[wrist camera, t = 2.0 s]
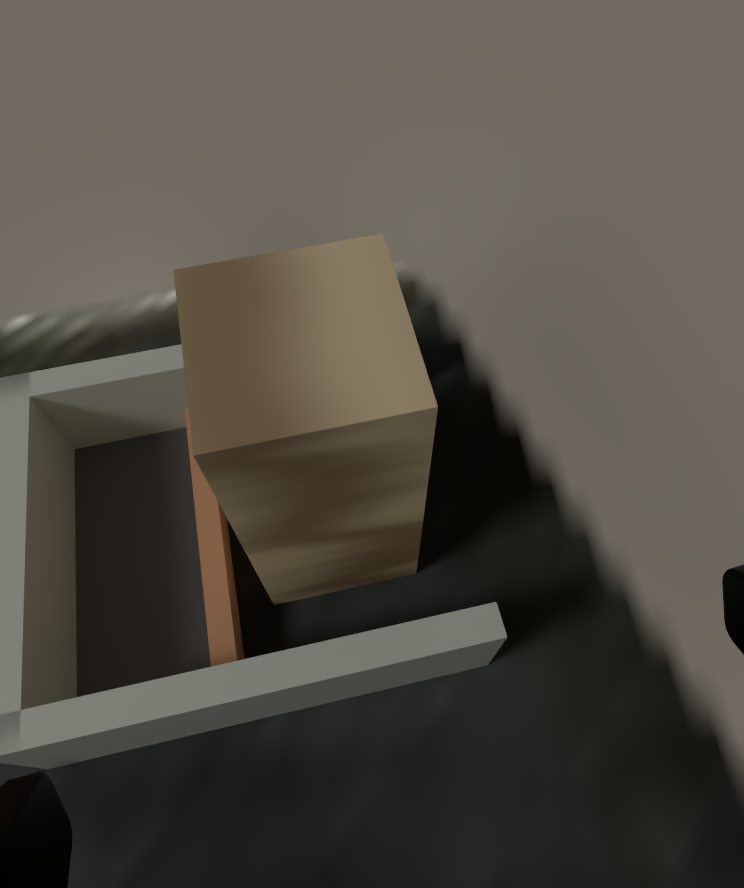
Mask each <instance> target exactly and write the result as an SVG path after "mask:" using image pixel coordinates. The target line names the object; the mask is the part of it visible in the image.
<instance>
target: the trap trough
mask: <svg viewBox="0 0 744 888" xmlns="http://www.w3.org/2000/svg"><path fill="white" fill-rule="evenodd" d="M506 639H507V634H506V631H505V628H504V625H503V622H502V618H501V615H500V612H499V609H498V606H497V602H493V603H489V604H485V605H480V606H476V607H471V608H467V609H463V610H458V611H454V612H450V613H445V614H441V615H436V616H432V617H428V618H423V619H419V620H414V621H410V622H406V623H401V624H397V625H392V626H388V627H384V628H379V629H375V630H370V631H366V632H362V633H357V634H353V635H348V636H344V637H340V638H335V639H331V640H326V641H322V642H318V643H313V644H309V645H305V646H300V647H296V648H291V649H287V650H283V651H278V652H274V653H269V654H265V655H261V656H256V657H252V658H247V659H245V658H244V650H243V642H242V634H241V626H240V618H239V610H238V603H237V595H236V587H235V579H234V571H233V563H232V555H231V547H230V539H229V531H228V523H227V517H226V515H225V514H224V512H223V510H222V508H221V506H220V504H219V502H218V501H217V499H216V497H215V495H214V493H213V491H212V489H211V488H210V486H209V484H208V482H207V480H206V478H205V476H204V475H203V473H202V471H201V469H200V467H199V465H198V464H197V462H196V460H195V458H194V456H193V449H192V439H191V430H190V420H189V411H188V401H187V392H186V382H185V373H184V363H183V354H182V344H181V345H176V346H171V347H165V348H160V349H154V350H149V351H143V352H138V353H133V354H127V355H122V356H116V357H111V358H105V359H100V360H95V361H89V362H84V363H78V364H73V365H67V366H62V367H56V368H51V369H46V370H40V371H35V372H29V373H24V374H18V375H13V376H8V377H2V378H0V763H5V764H13V765H21V766H29V767H37V768H45V769H50V768H54V767H59V766H63V765H67V764H71V763H76V762H80V761H84V760H88V759H93V758H97V757H101V756H105V755H110V754H114V753H118V752H122V751H126V750H131V749H135V748H139V747H143V746H148V745H152V744H156V743H160V742H165V741H169V740H173V739H177V738H182V737H186V736H190V735H194V734H199V733H203V732H207V731H211V730H215V729H220V728H224V727H228V726H232V725H237V724H241V723H245V722H249V721H254V720H258V719H262V718H266V717H271V716H275V715H279V714H283V713H287V712H292V711H296V710H300V709H304V708H309V707H313V706H317V705H321V704H326V703H330V702H334V701H338V700H343V699H347V698H351V697H355V696H359V695H364V694H368V693H372V692H376V691H381V690H385V689H389V688H393V687H398V686H402V685H406V684H410V683H415V682H419V681H423V680H427V679H431V678H436V677H440V676H444V675H448V674H453V673H457V672H461V671H465V670H470V669H474V668H478V667H482V666H487V665H488V664H489V663H490V661H491V660H492V658H493V657H494V656H495V654H496V653H497V651H498V650H499V649H500V647H501V646H502V644H503V643H504V641H505V640H506Z"/></svg>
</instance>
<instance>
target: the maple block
mask: <svg viewBox="0 0 744 888" xmlns="http://www.w3.org/2000/svg"><path fill="white" fill-rule="evenodd" d="M174 278H175V287H176V297H177V306H178V316H179V325H180V335H181V344H182V354H183V363H184V373H185V382H186V392H187V401H188V411H189V420H190V430H191V439H192V449H193V456H194V458H195V460H196V462H197V464H198V465H199V467H200V469H201V471H202V473H203V475H204V476H205V478H206V480H207V482H208V484H209V486H210V488H211V489H212V491H213V493H214V495H215V497H216V499H217V501H218V502H219V504H220V506H221V508H222V510H223V512H224V514H225V515H226V517H227V519H228V521H229V523H230V525H231V526H232V528H233V530H234V532H235V534H236V536H237V538H238V539H239V541H240V543H241V545H242V547H243V549H244V551H245V552H246V554H247V556H248V558H249V560H250V562H251V563H252V565H253V567H254V569H255V571H256V573H257V575H258V576H259V578H260V580H261V582H262V584H263V586H264V588H265V589H266V591H267V593H268V595H269V597H270V599H271V601H272V602H273V604H274V605H276V604H281V603H285V602H290V601H294V600H299V599H303V598H308V597H312V596H317V595H322V594H326V593H331V592H335V591H340V590H344V589H349V588H353V587H358V586H362V585H367V584H371V583H376V582H380V581H385V580H389V579H394V578H398V577H403V576H407V575H412V574H416V571H417V564H418V556H419V548H420V541H421V533H422V525H423V518H424V510H425V502H426V495H427V487H428V479H429V472H430V464H431V457H432V449H433V441H434V434H435V426H436V418H437V411H438V405H437V402H436V399H435V396H434V393H433V390H432V386H431V383H430V380H429V377H428V374H427V371H426V367H425V364H424V361H423V358H422V355H421V352H420V348H419V345H418V342H417V339H416V336H415V333H414V329H413V326H412V323H411V320H410V317H409V314H408V310H407V307H406V304H405V301H404V298H403V295H402V291H401V288H400V285H399V282H398V279H397V276H396V272H395V269H394V266H393V263H392V260H391V257H390V254H389V250H388V247H387V244H386V241H385V238H384V235H383V234H377V235H372V236H366V237H360V238H354V239H349V240H343V241H337V242H331V243H325V244H320V245H314V246H309V247H303V248H297V249H291V250H285V251H280V252H274V253H269V254H262V255H257V256H251V257H245V258H240V259H234V260H228V261H223V262H217V263H211V264H205V265H200V266H194V267H188V268H182V269H176V270H174Z"/></svg>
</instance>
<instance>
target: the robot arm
mask: <svg viewBox="0 0 744 888" xmlns="http://www.w3.org/2000/svg"><path fill="white" fill-rule="evenodd" d="M722 583H723V600H724V619H725V626H726V629H727V632H728V634H729V636H730V638H731V639H732V641H733V642H734V643H735V645H736V646H737V647H738V648H739V649H740V651H741V652H742V653H743V654H744V565H741V566H738V567H734V568H731V569H728V570H727V571H726V572H725V573H724V576H723V582H722ZM71 850H72V828H71V824H70V820H69V818H68V815H67V813H66V811H65V808H64V806H63V804H62V802H61V799H60V797H59V795H58V792H57V790H56V788H55V785H54V783H53V781H52V779H51V777H50V776H49V774H48V773H47V772H44V771H41V770H39V771H35V772H32V773H29V774H25V775H22V776H18V777H15V778H12V779H10V780H8V781H6V782H5V783H4V784H3V785H2V786H1V787H0V888H67V885H68V876H69V867H70V859H71Z"/></svg>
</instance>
